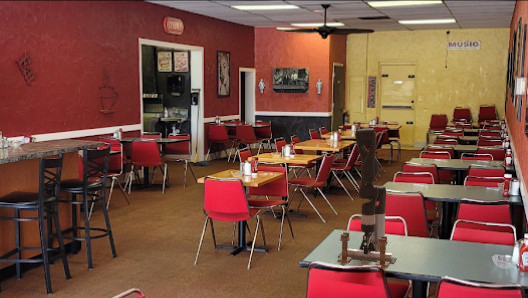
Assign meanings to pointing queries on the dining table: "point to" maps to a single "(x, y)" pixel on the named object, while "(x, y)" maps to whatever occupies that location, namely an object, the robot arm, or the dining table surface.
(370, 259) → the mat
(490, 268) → the dining table surface
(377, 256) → the brown wooden bar
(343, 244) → the stand
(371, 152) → the robot arm
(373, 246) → the black triangular frame
